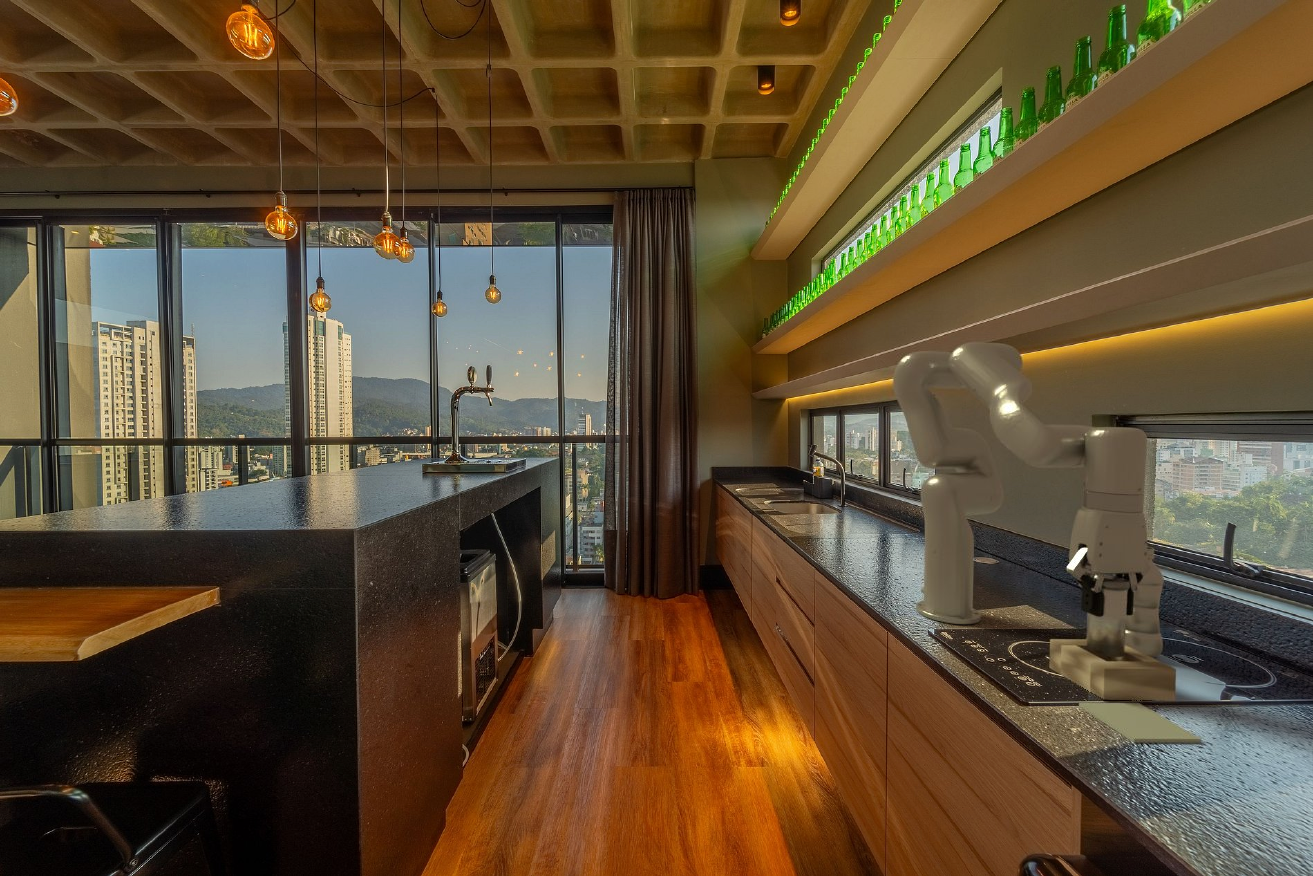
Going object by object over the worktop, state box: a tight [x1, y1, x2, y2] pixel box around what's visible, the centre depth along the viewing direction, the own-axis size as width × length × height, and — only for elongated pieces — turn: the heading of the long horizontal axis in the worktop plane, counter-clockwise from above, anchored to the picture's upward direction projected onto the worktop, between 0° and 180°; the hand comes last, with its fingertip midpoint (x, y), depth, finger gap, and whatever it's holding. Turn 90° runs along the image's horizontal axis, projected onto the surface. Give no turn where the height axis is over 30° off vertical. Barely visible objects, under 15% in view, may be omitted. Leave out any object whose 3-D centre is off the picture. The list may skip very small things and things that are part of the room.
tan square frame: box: [1048, 638, 1177, 702], centre depth 85 cm, size 11×11×5 cm
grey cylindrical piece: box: [1085, 574, 1130, 657], centre depth 86 cm, size 5×5×12 cm
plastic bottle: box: [1123, 545, 1165, 658], centre depth 96 cm, size 6×7×20 cm
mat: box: [1078, 702, 1202, 744], centre depth 74 cm, size 9×9×1 cm
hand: (1106, 611), depth 86 cm, fingers closed on grey cylindrical piece, 4 cm apart
